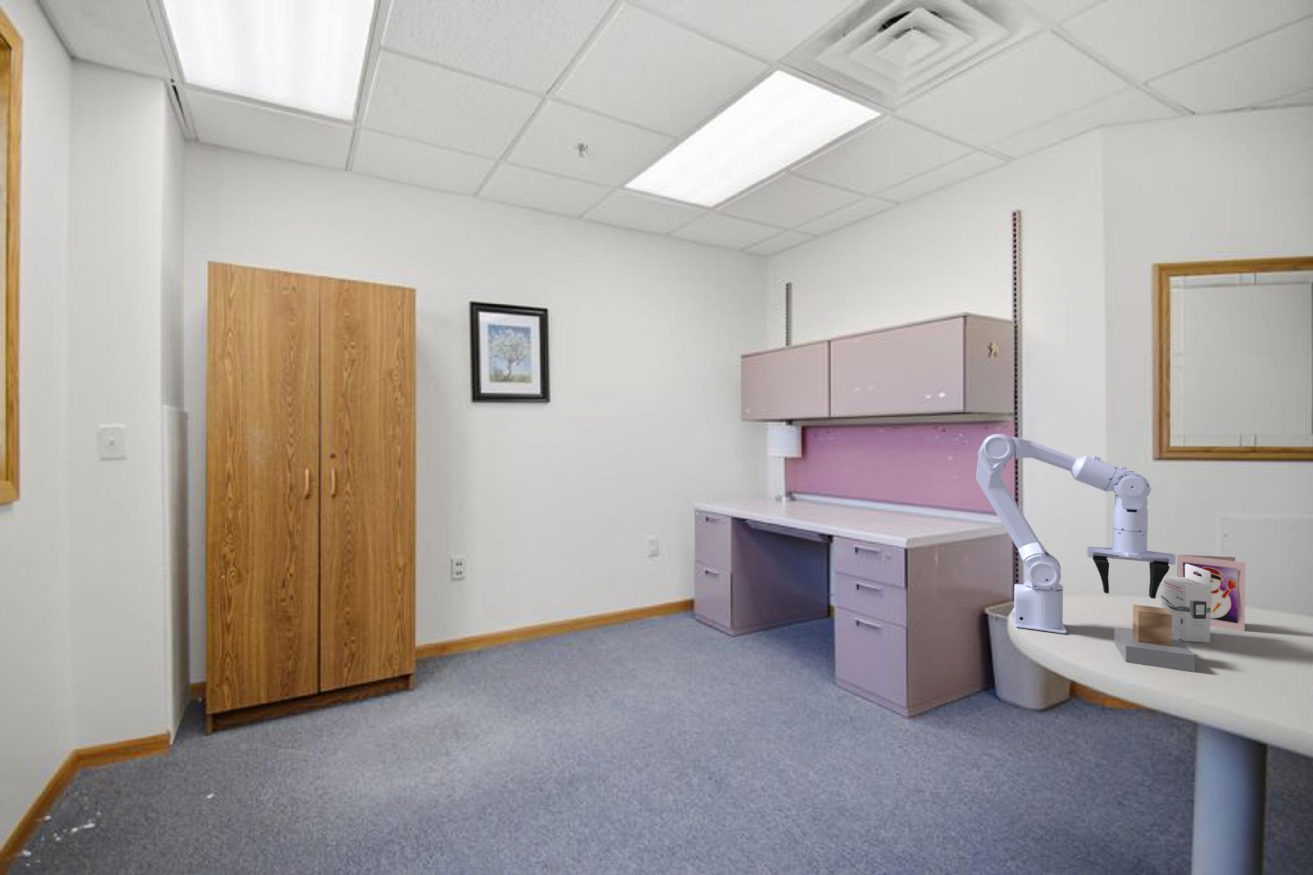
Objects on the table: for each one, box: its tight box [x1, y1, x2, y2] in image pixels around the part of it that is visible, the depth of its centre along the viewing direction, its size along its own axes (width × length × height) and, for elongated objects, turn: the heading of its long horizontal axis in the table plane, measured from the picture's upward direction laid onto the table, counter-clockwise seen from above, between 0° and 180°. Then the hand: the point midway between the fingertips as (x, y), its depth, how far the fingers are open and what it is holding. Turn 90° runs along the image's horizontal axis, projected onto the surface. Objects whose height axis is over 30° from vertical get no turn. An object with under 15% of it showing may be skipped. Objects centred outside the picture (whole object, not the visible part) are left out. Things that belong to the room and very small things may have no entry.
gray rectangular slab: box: [1113, 627, 1196, 673], centre depth 117 cm, size 10×12×3 cm
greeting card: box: [1176, 554, 1246, 632], centre depth 139 cm, size 11×7×15 cm, turn 43°
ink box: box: [1160, 564, 1211, 644], centre depth 130 cm, size 9×5×15 cm, turn 168°
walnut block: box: [1132, 604, 1173, 647], centre depth 118 cm, size 5×5×6 cm
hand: (1128, 594), depth 127 cm, fingers open, 7 cm apart
